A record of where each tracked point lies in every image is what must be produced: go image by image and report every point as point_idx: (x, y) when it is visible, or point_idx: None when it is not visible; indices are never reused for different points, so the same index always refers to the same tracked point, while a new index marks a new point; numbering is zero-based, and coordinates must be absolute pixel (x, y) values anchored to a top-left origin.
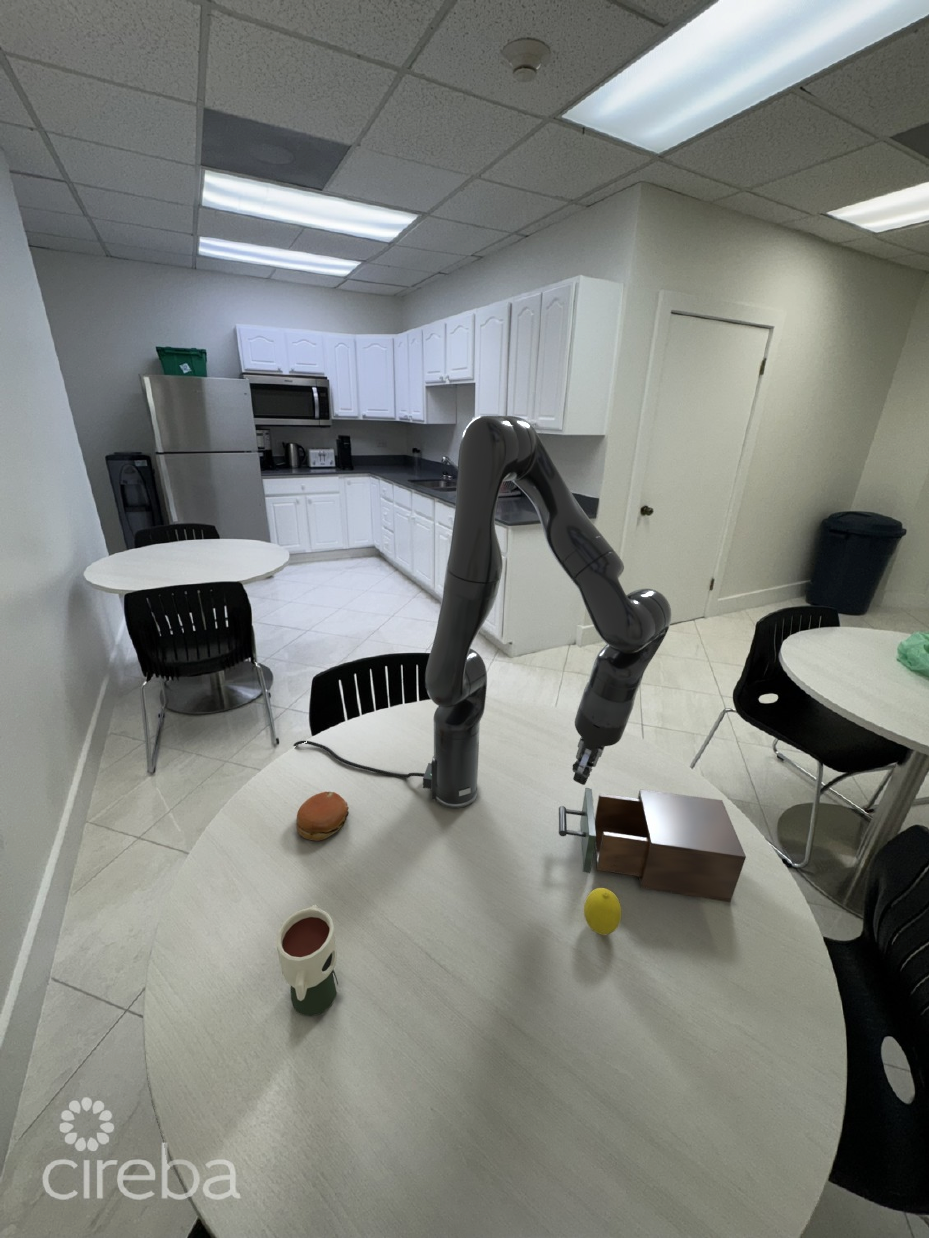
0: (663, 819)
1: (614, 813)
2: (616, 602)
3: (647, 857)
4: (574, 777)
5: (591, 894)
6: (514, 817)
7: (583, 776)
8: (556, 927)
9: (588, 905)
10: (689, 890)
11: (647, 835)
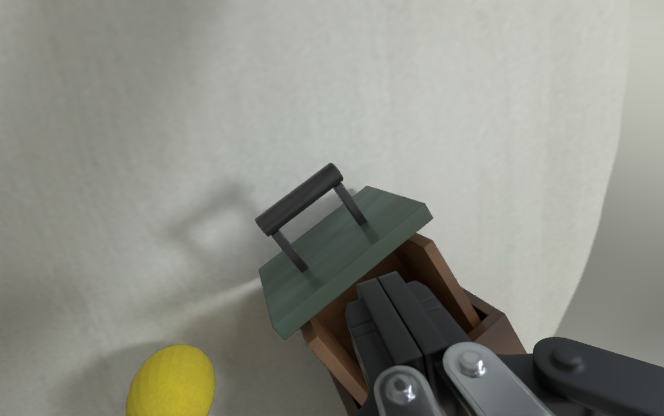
0: None
1: (415, 265)
2: None
3: (344, 400)
4: (361, 297)
5: (152, 395)
6: (272, 49)
7: (368, 385)
8: (106, 309)
9: (133, 394)
10: None
11: None
